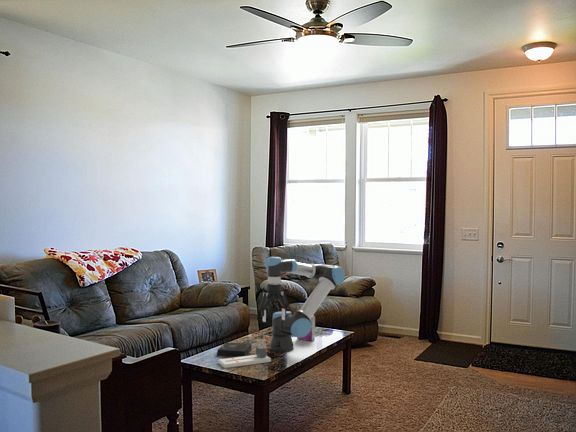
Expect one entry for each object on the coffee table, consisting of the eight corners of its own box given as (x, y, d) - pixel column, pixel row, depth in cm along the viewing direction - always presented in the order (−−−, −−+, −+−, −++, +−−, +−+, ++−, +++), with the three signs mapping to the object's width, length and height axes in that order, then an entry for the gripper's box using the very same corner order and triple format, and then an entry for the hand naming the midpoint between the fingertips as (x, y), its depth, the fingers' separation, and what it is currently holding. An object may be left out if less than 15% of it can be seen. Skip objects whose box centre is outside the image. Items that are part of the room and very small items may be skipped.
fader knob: (262, 354, 299) (262, 345, 299) (265, 356, 295) (266, 347, 295) (256, 355, 297) (256, 346, 297) (259, 357, 293) (259, 348, 293)
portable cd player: (224, 348, 320) (224, 342, 320) (251, 350, 318) (251, 344, 318) (216, 356, 304) (216, 349, 304) (244, 358, 302) (244, 351, 301)
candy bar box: (296, 339, 345) (297, 315, 345) (300, 337, 349) (300, 313, 349) (311, 341, 340) (312, 316, 340) (315, 340, 344) (315, 315, 344)
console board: (263, 357, 302) (263, 353, 302) (270, 361, 294) (271, 357, 294) (218, 363, 289) (218, 359, 289) (224, 368, 281) (224, 364, 281)
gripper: (289, 281, 308) (289, 317, 308) (252, 283, 297) (252, 321, 297) (295, 283, 301) (294, 320, 302) (258, 285, 290) (257, 323, 291)
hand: (273, 320), depth 300 cm, fingers open, 12 cm apart
